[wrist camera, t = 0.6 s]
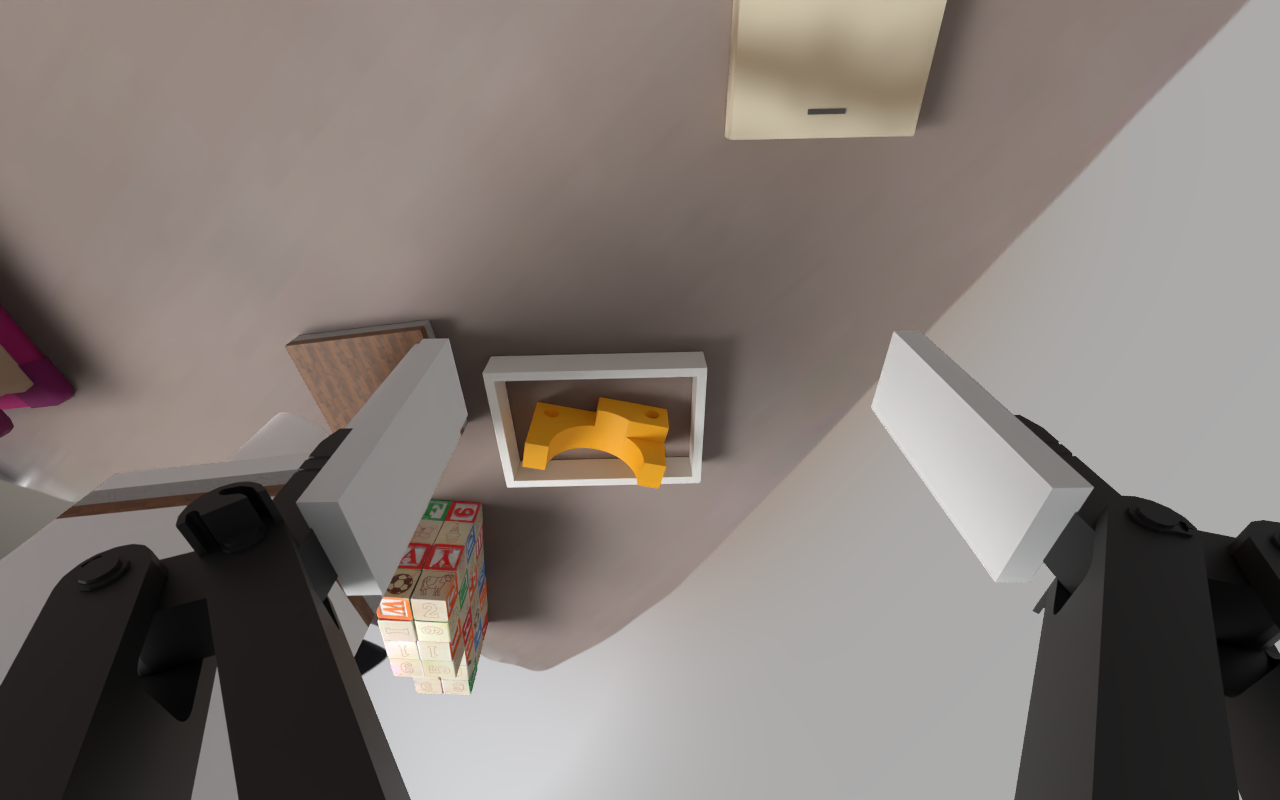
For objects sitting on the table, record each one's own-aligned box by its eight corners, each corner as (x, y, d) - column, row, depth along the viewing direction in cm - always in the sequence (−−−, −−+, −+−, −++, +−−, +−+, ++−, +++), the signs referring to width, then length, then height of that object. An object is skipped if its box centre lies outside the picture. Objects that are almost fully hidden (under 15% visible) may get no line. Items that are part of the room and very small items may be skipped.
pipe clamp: (666, 408, 47) (671, 450, 42) (656, 444, 49) (659, 488, 44) (539, 385, 45) (527, 425, 40) (534, 423, 48) (522, 466, 42)
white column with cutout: (429, 319, 42) (-66, 893, 12) (467, 422, 47) (195, 984, 18) (298, 335, 42) (-475, 918, 13) (352, 435, 48) (-96, 998, 18)
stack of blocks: (490, 621, 64) (462, 725, 54) (440, 618, 64) (403, 722, 53) (482, 501, 53) (445, 602, 43) (422, 496, 53) (370, 598, 42)
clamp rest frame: (491, 356, 44) (482, 373, 41) (702, 351, 44) (707, 367, 41) (513, 467, 50) (507, 487, 48) (696, 462, 50) (700, 482, 48)
